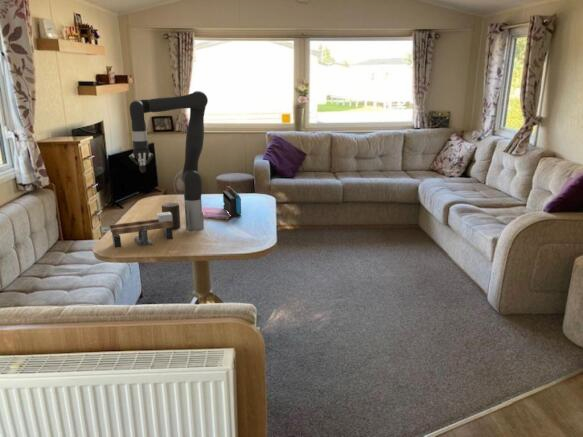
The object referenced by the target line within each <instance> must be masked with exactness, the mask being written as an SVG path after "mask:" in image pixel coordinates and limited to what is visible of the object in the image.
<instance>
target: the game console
mask: <svg viewBox="0 0 583 437" xmlns="http://www.w3.org/2000/svg"><path fill="white" fill-rule="evenodd" d="M225 188H226V190H223V191H222V198H223V199H222V200H223V201H222V202H223V210H224V209H225V210H227V211H228V212H229V214H230V215H231V217H230V218H239V217H238V216H241V217H242V202H241V201H242V200H241V199H242V198H241V197H240V195H239V193H238V192H236V191H235V190H234V189H233V188H232V187H231V186H230V185H228V186H226V187H225ZM225 210H224V211H225Z"/></svg>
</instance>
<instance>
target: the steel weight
mask: <svg viewBox="0 0 583 437" xmlns="http://www.w3.org/2000/svg"><path fill="white" fill-rule="evenodd" d="M155 215H156V219H157V223H163V222H171V221H173V219H172V214H171V213H170V212H163V213H162V212H157V213H156V214H155Z"/></svg>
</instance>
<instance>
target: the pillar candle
mask: <svg viewBox="0 0 583 437" xmlns="http://www.w3.org/2000/svg"><path fill="white" fill-rule="evenodd" d="M163 212H170V213H171V214H172V219H173V227H172V231H175V230H179V229H180V228H181V216H180V215H181V214H180V203H179V202H165V203H162V204H161V213H163ZM162 229H163V230H164V228H162Z"/></svg>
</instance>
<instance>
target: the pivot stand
mask: <svg viewBox="0 0 583 437" xmlns="http://www.w3.org/2000/svg"><path fill="white" fill-rule="evenodd" d="M141 228H142V231H140V232H137V233H138V235H137V236H134V239H135V241H136V242H137V244H138V245H139V247H140V248H141V247H146V246H147V247H148V246H153V242H152V241H151V239H150V238H149V236H148V230H147V227H141ZM111 235H112V236H111V237H112V245H113V246H114V248H115V249H116V248H122V240H121V236H120V235H121V234H117V235H113V234H112V233H111ZM163 235H164V236H163V237H164V238H165V239H166V240H167V241H168V240H172V239H174V238H173V230H172V227H169V228H164V229H163Z"/></svg>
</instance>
